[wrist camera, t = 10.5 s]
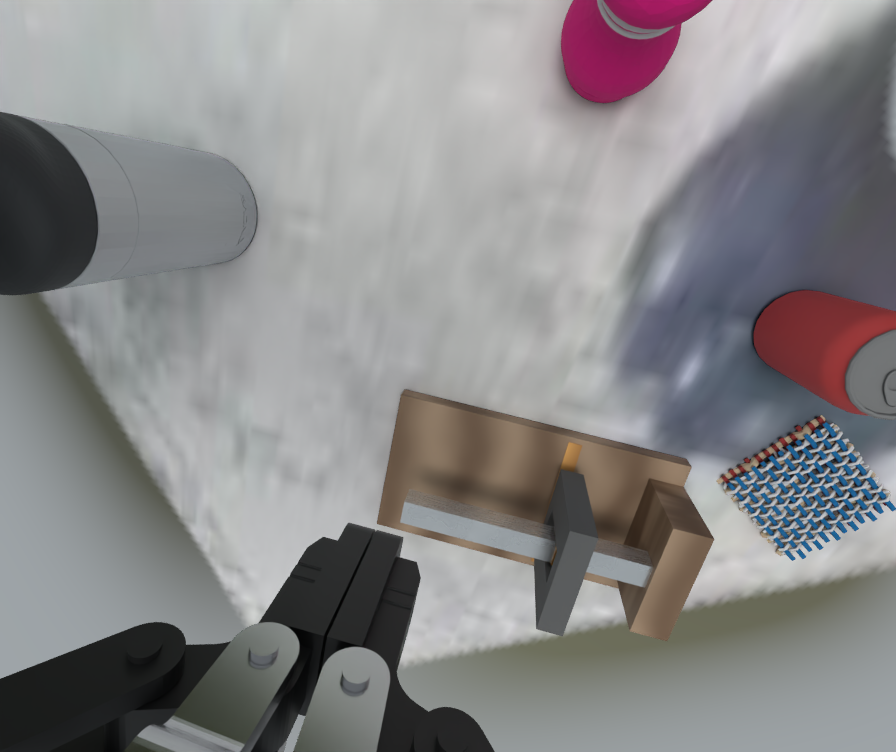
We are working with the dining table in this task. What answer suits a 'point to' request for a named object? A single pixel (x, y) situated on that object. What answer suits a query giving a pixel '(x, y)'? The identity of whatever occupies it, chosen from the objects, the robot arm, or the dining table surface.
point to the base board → (532, 485)
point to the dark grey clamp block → (565, 553)
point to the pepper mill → (621, 43)
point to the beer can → (833, 349)
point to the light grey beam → (519, 536)
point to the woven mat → (806, 488)
